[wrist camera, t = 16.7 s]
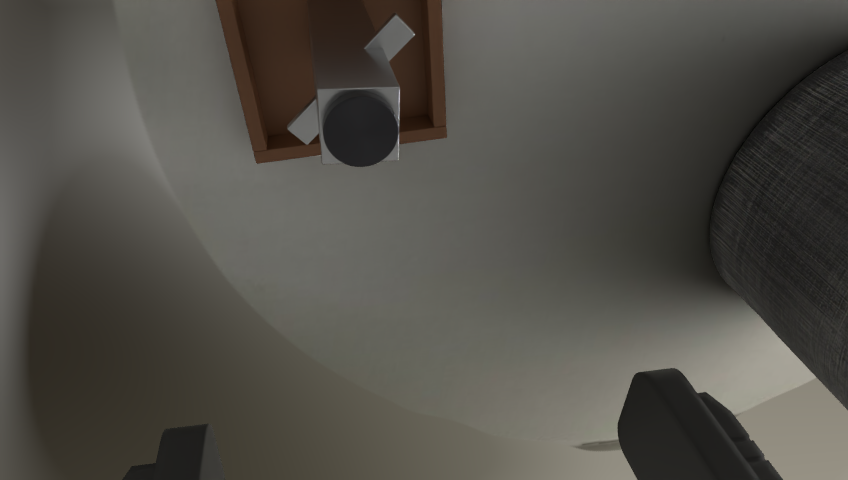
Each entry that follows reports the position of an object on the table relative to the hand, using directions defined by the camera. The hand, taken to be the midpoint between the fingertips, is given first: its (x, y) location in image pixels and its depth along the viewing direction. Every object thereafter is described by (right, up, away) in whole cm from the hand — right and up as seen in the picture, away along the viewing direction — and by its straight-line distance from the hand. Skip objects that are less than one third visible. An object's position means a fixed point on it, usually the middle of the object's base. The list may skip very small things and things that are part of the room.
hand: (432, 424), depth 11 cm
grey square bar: (-5, +16, +22) cm, 28 cm away
